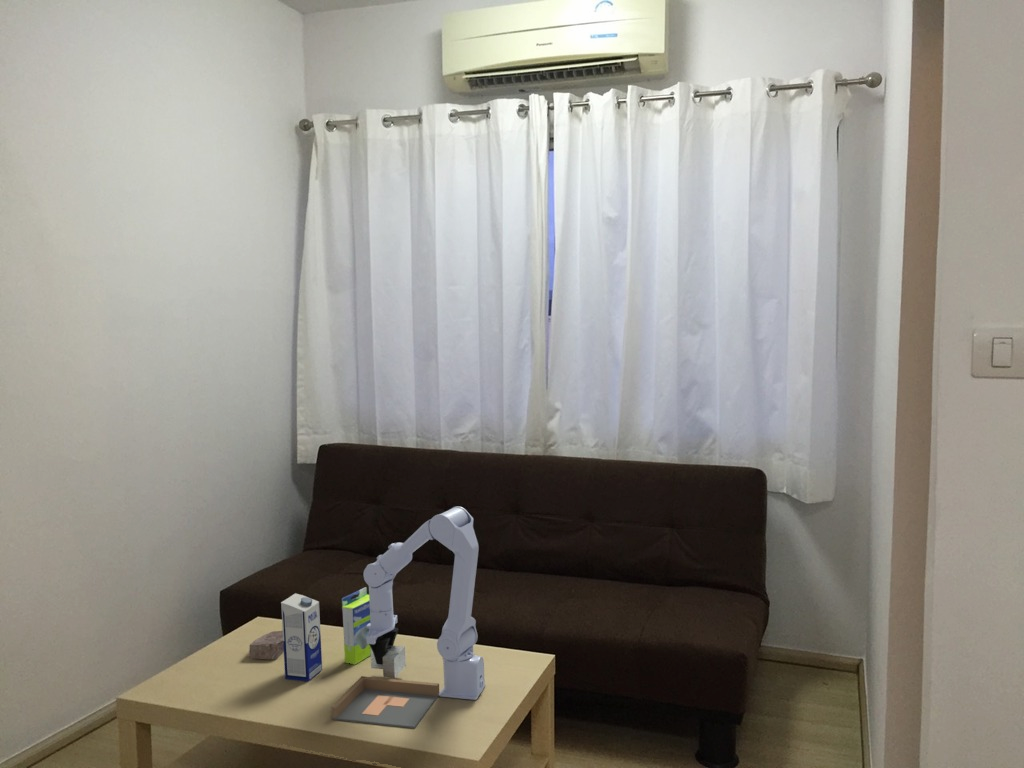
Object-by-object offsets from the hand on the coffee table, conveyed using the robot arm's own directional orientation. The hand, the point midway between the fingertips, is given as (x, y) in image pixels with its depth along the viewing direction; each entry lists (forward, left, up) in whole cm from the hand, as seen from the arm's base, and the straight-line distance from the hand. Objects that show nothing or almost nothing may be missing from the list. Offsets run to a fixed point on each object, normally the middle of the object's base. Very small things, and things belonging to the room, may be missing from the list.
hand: (383, 660), depth 205 cm
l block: (-1, +2, -2) cm, 3 cm away
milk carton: (+21, +3, -4) cm, 22 cm away
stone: (+37, -8, -5) cm, 38 cm away
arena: (-7, +15, -4) cm, 17 cm away
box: (+11, -10, -4) cm, 15 cm away
